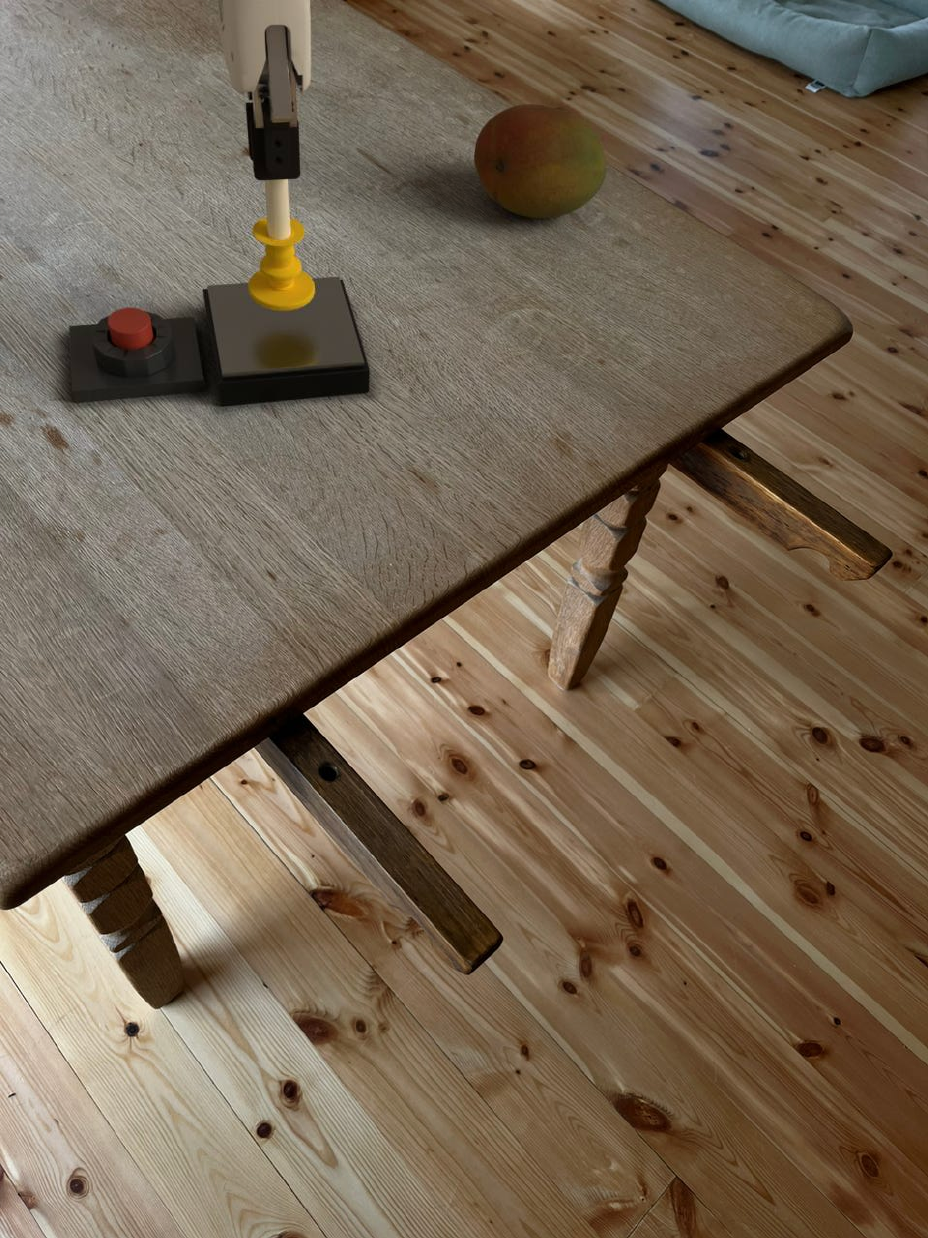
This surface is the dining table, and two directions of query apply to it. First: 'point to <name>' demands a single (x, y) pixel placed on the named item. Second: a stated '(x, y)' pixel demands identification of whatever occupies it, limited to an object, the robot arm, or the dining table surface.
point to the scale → (284, 346)
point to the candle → (280, 255)
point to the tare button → (130, 328)
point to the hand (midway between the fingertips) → (274, 166)
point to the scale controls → (135, 362)
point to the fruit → (539, 161)
